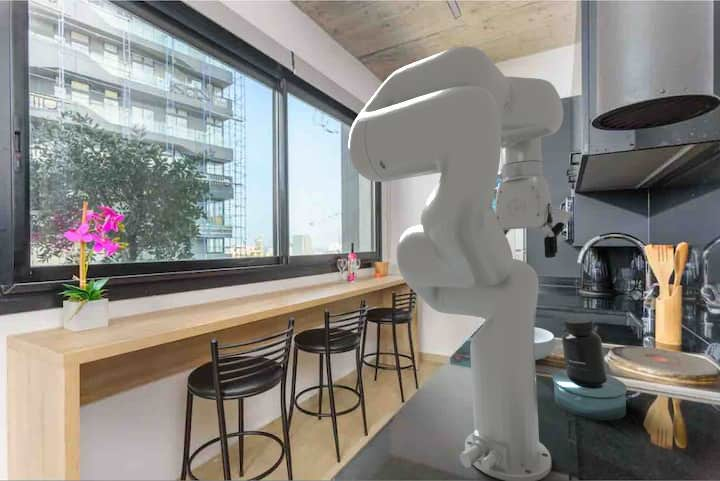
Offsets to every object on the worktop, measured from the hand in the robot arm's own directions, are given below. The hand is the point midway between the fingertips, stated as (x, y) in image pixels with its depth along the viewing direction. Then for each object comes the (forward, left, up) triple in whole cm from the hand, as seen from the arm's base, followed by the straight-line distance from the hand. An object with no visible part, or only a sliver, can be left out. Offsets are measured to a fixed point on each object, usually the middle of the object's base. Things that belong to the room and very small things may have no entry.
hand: (525, 256), depth 72 cm
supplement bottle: (+7, -8, -25) cm, 28 cm away
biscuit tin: (+7, -8, -31) cm, 32 cm away
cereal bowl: (+24, +14, -31) cm, 41 cm away
